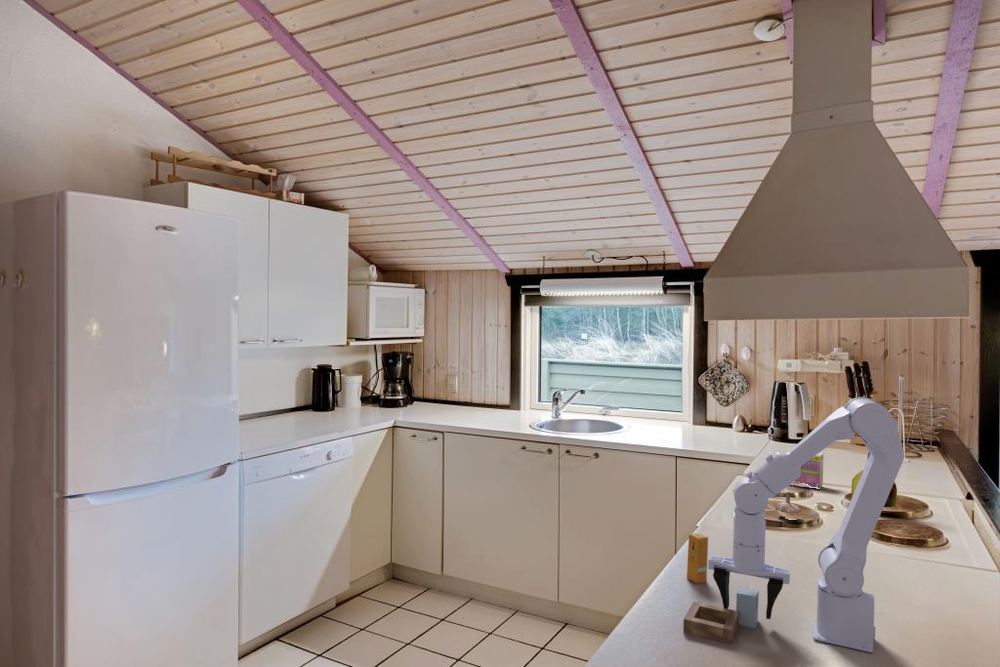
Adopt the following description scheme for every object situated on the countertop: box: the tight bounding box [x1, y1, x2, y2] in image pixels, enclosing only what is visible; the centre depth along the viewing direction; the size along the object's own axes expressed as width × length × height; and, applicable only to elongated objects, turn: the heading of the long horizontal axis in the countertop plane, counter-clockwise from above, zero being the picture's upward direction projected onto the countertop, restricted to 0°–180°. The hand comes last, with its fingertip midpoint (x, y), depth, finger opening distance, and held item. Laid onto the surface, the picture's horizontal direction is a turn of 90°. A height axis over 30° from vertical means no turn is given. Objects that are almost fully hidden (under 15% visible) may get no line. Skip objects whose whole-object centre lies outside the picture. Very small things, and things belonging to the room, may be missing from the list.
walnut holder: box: [682, 601, 739, 644], centre depth 122 cm, size 8×8×2 cm
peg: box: [735, 585, 760, 629], centre depth 125 cm, size 4×4×6 cm
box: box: [795, 452, 824, 489], centre depth 226 cm, size 10×6×12 cm, turn 55°
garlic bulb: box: [774, 491, 802, 513], centre depth 189 cm, size 8×7×8 cm
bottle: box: [850, 452, 898, 507], centre depth 197 cm, size 12×6×20 cm, turn 50°
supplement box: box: [686, 533, 709, 584], centre depth 144 cm, size 3×3×10 cm
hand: (747, 612), depth 125 cm, fingers open, 7 cm apart
